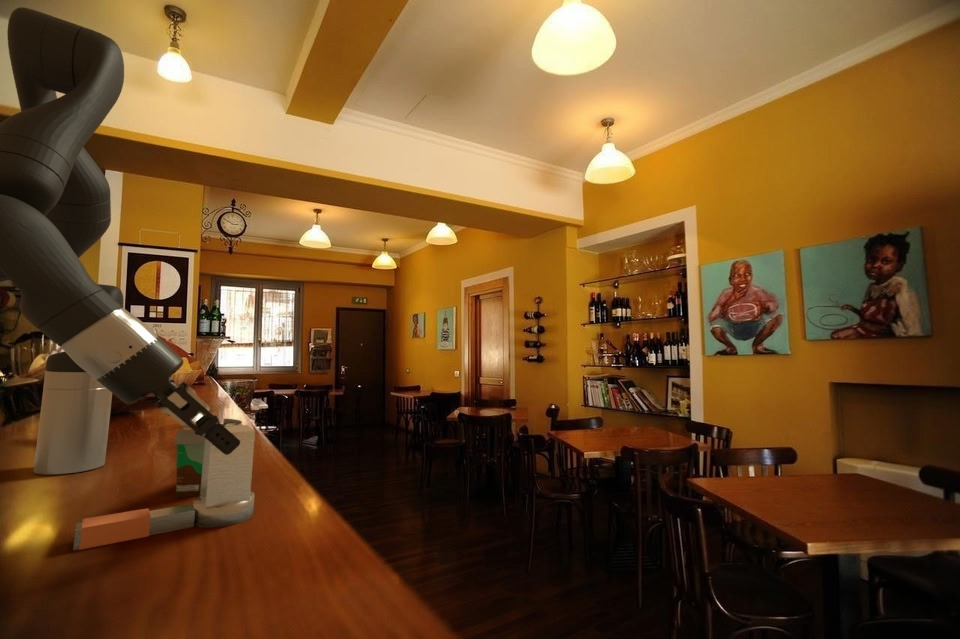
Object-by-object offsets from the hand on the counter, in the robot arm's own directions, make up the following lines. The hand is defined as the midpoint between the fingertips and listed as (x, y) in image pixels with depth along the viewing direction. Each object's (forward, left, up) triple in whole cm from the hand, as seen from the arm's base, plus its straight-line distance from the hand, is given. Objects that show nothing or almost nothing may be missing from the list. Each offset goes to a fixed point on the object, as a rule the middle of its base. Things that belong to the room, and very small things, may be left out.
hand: (227, 442), depth 58 cm
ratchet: (0, -5, -10) cm, 11 cm away
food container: (-14, +2, -10) cm, 17 cm away
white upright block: (0, 0, -7) cm, 7 cm away
